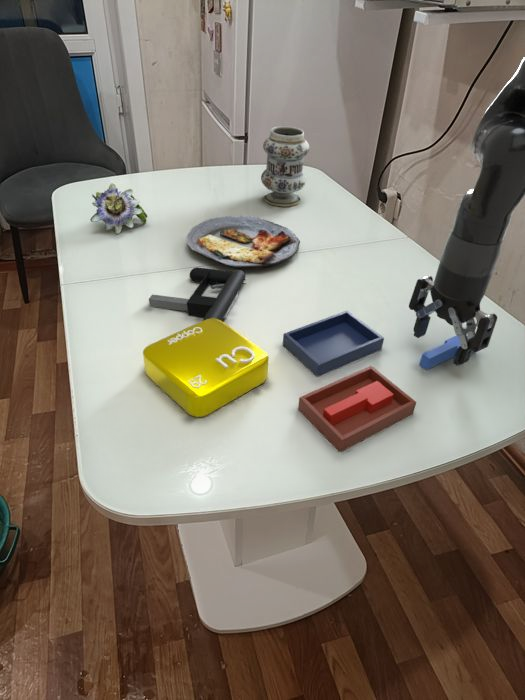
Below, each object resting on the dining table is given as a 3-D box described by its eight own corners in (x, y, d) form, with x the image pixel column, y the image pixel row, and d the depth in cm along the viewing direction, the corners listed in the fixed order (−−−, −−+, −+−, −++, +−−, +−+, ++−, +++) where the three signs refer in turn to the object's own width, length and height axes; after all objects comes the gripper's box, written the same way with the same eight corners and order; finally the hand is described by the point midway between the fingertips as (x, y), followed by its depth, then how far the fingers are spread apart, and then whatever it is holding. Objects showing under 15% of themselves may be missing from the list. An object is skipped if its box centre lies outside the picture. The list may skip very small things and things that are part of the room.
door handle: (133, 312, 90) (220, 323, 86) (176, 260, 105) (252, 268, 102) (137, 327, 92) (221, 339, 88) (178, 274, 107) (252, 283, 104)
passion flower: (121, 253, 123) (86, 222, 113) (113, 227, 129) (78, 196, 120) (158, 226, 121) (125, 192, 111) (148, 200, 127) (115, 166, 118)
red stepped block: (375, 389, 79) (378, 377, 78) (391, 403, 77) (394, 391, 76) (317, 416, 74) (319, 404, 73) (333, 432, 72) (335, 420, 70)
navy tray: (345, 321, 94) (347, 310, 93) (381, 349, 88) (384, 337, 87) (282, 344, 88) (283, 333, 87) (317, 376, 82) (318, 365, 80)
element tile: (214, 334, 90) (214, 312, 87) (273, 378, 81) (274, 354, 78) (140, 370, 81) (136, 346, 78) (196, 422, 73) (194, 398, 70)
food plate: (317, 246, 118) (319, 232, 116) (256, 286, 103) (256, 271, 101) (233, 216, 129) (233, 203, 127) (167, 248, 114) (166, 234, 112)
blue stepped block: (459, 340, 91) (463, 329, 89) (475, 351, 89) (480, 340, 87) (414, 361, 86) (417, 350, 84) (430, 373, 83) (434, 362, 82)
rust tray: (368, 376, 82) (371, 365, 81) (413, 413, 76) (416, 402, 74) (297, 408, 76) (299, 397, 74) (339, 452, 70) (342, 440, 68)
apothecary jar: (305, 209, 134) (312, 138, 123) (259, 207, 134) (262, 136, 123) (303, 192, 144) (309, 125, 133) (260, 190, 144) (263, 122, 133)
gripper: (525, 278, 72) (487, 366, 82) (447, 237, 81) (422, 321, 91) (491, 291, 69) (456, 381, 79) (413, 247, 78) (391, 333, 88)
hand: (438, 349), depth 85 cm, fingers open, 8 cm apart
